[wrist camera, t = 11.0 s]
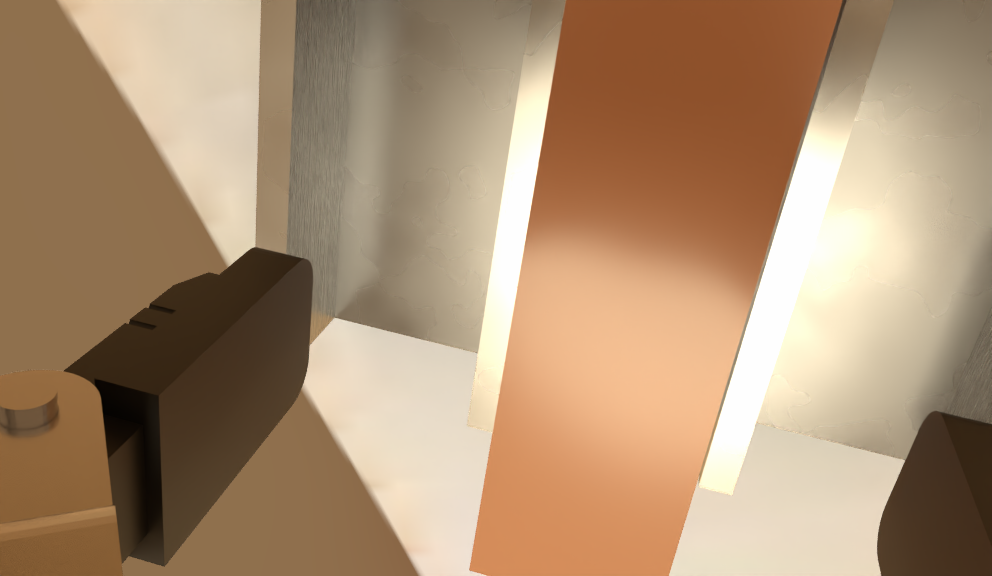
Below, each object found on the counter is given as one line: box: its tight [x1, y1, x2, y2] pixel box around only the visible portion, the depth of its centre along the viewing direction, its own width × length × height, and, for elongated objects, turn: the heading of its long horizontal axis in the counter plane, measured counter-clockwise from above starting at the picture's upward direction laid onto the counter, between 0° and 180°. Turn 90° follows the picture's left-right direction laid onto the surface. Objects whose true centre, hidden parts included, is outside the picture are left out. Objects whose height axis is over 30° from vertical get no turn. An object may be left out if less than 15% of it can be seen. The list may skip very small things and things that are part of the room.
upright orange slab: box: [469, 0, 843, 576], centre depth 17 cm, size 10×3×11 cm, turn 172°
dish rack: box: [256, 0, 992, 495], centre depth 21 cm, size 19×14×4 cm
